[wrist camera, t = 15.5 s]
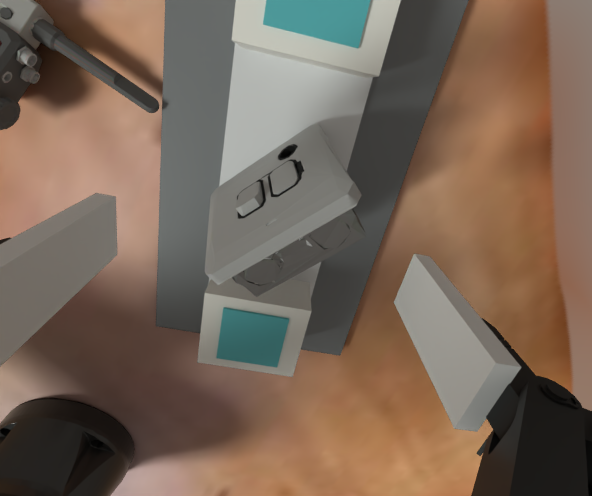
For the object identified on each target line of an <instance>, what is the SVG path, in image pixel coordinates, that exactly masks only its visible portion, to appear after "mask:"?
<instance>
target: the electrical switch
mask: <svg viewBox="0 0 592 496" xmlns="http://www.w3.org/2000/svg"><path fill="white" fill-rule="evenodd" d="M360 197H361V193H360V191H359V189H358V188H357V186H356V184H355V182H354V181H352V180H351V178H350V176H349V174H348V173H347V171H346V169H345V168H344V166H343V164H342V162H341V161H340V159H339V157H338V156H337V154H336V152H335V150H334V149H333V147H332V145H331V144H330V142H329V139H328V137H327V135H326V133H325V132H324V131H323V129H322V128H321V126H320V125H319V124H315V125H310V126H309V127H307V128H306V129H304V130H303V131H301V132H300V133H298V134H297V135H295V136H294V137H292V138H291V139H289V140H288V141H286V142H285V143H283V144H282V145H280V146H279V147H277V148H276V149H274V150H273V151H271V152H270V153H268V154H267V155H265V156H264V157H262V158H261V159H259V160H258V161H256V162H255V163H253V164H252V165H250V166H249V167H247V168H246V169H244V170H243V171H241V172H240V173H238V174H237V175H235V176H234V177H232V178H231V179H230V180H228V181H227V182H225V183H224V184H222V185H221V186H219V187H218V188H216V189H215V190H214V192H213V193H212V194H211V198H210V211H209V223H208V235H207V247H206V260H205V273H206V275H207V276H208V277H209V278H211V279H212V280H213V281H214V282H215V283H216V284H218V285H219V284H221V283H223V282H225V281H226V280H228V279H230V278H232V279H233V280H234V281H235V282H236V283H238V284H240V285H242V286H244V287H245V288H246V289H248V290H249V291H250V292H251V293H252V294H253V295H254V296H256V297H258V296H259V295H261V294H263V293H265V292H267V291H269V290H270V289H272V288H274V287H276V286H278V285H279V284H281V283H283V282H285V281H287V280H289V279H290V278H292V277H294V276H296V275H298V274H299V273H301V272H303V271H305V270H307V269H309V268H310V267H312V266H314V265H316V264H318V263H319V262H321V261H323V260H325V259H327V258H329V257H330V256H332V255H334V254H336V253H338V252H339V251H341V250H343V249H345V248H347V247H349V246H350V245H352V244H354V243H356V242H358V241H359V240H361V239H363V238H365V237H366V236H365V234H364V232H365V231H364V232H363V230H364V228H363V226H362V224H361V222H360V220H359V218H358V216H357V214H356V212H355V211H354V209H353V207H355V206H356V205H357V203H358V201H359V199H360ZM360 226H361V227H360ZM361 228H362V229H363V230H362V229H361ZM301 237H302V239H301ZM299 239H301V240H300V241H299ZM306 240H307V241H308V242H309V243H310V244H311V245H312V246H309V245H307V243H306ZM345 240H346V242H344V241H345ZM277 252H278V253H277ZM276 253H277V254H276ZM265 258H271V259H265ZM281 259H283V261H284V262H283V261H282V260H281ZM280 267H281V268H280ZM274 281H275V282H274ZM255 283H256V284H255Z"/></svg>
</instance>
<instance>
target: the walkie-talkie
mask: <svg viewBox="0 0 592 496" xmlns="http://www.w3.org/2000/svg"><path fill="white" fill-rule="evenodd" d="M53 24H54V20H53V19H52V18H51V17H50V16H49V14H48V13H47V12H46V11H45V10H44V9H43V7H42V6H41V5H39V4H38V3H37V2H35V1H34V0H0V130H3V129H7V128H9V127H11V126H13V124H14V123H15V122H16V121H17V120H18V118H19V115H20V106H19V104H18V101H19V100H20V98H21V97H22V95H23V94H24V92H25V91H26V89H27V88H28V86H29V85H30V83H32V84H35V83H37V82H38V80H39V78H40V74H39V73H38V72H39V69H40V66H41V63H42V59H41V56H40V54H39V52H38V51H37V50H36V49H37V48H38V46H39V45H40V43H42V44H43V45H45V46H46V47H48V48H49V49H51V50H52V51H59V52H60V53H62V54H63V55H65V56H66V57H68V58H69V59H71V60H72V61H73V62H75V63H76V64H78V65H79V66H81V67H82V68H84V69H85V70H87V71H88V72H90V73H91V74H93V75H94V76H96V77H97V78H99V79H100V80H101V81H103V82H104V83H106V84H107V85H109V86H110V87H112V88H113V89H115V90H116V91H118V92H119V93H121V94H122V95H124V96H125V97H127V98H128V99H129V100H131V101H132V102H134V103H135V104H137V105H138V106H140V107H141V108H143V109H144V110H146V111H147V112H149V113H154V112H156V111H158V109H159V103H158V101H157V100H156V99H155V98H154V97H152V96H151V95H149V94H148V93H146V92H145V91H143V90H142V89H141V88H139V87H138V86H136V85H135V84H133V83H132V82H130V81H129V80H128V79H126V78H125V77H123V76H122V75H120V74H119V73H117V72H116V71H115V70H113V69H112V68H110V67H109V66H107V65H106V64H104V63H103V62H101V61H100V60H99V59H97V58H96V57H94V56H93V55H91V54H90V53H88V52H87V51H86V50H84V49H83V48H81V47H80V46H78V45H77V44H75V43H74V42H72V41H71V40H70V39H68V38H67V37H65V34H64V33H63V32H62V31H61V30H59V29H58V28H56V27H55V26H53Z"/></svg>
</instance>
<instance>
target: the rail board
mask: <svg viewBox="0 0 592 496" xmlns="http://www.w3.org/2000/svg"><path fill="white" fill-rule="evenodd" d="M468 1H469V0H165V30H164V65H163V99H162V133H161V168H160V202H159V236H158V270H157V305H156V326H159V327H165V328H171V329H177V330H184V331H190V332H196V333H200V341H199V351H198V360H197V363H204V364H210V365H217V366H223V367H230V368H237V369H243V370H250V371H256V372H263V373H270V374H276V375H283V376H289V377H293V374H294V370H295V367H296V363H297V360H298V356H299V353H300V349H302V350H308V351H315V352H321V353H327V354H333V355H341V352H342V349H343V346H344V343H345V341H346V338H347V335H348V332H349V330H350V327H351V324H352V321H353V319H354V316H355V313H356V310H357V307H358V305H359V302H360V299H361V296H362V294H363V291H364V288H365V285H366V283H367V280H368V277H369V274H370V272H371V269H372V266H373V263H374V260H375V258H376V255H377V252H378V249H379V247H380V244H381V241H382V238H383V236H384V233H385V230H386V227H387V225H388V222H389V219H390V216H391V213H392V211H393V208H394V205H395V202H396V200H397V197H398V194H399V191H400V189H401V186H402V183H403V180H404V178H405V175H406V172H407V169H408V166H409V164H410V161H411V158H412V155H413V153H414V150H415V147H416V144H417V142H418V139H419V136H420V133H421V131H422V128H423V125H424V122H425V119H426V117H427V114H428V111H429V108H430V106H431V103H432V100H433V97H434V95H435V92H436V89H437V86H438V84H439V81H440V78H441V75H442V72H443V70H444V67H445V64H446V61H447V59H448V56H449V53H450V50H451V48H452V45H453V42H454V39H455V37H456V34H457V31H458V28H459V25H460V23H461V20H462V17H463V14H464V12H465V9H466V6H467V3H468ZM315 124H319V125H320V126H321V128H322V129H323V131H324V132H325V133H326V135H327V137H328V139H329V142H330V144H331V145H332V147H333V149H334V150H335V152H336V154H337V156H338V157H339V159H340V161H341V162H342V164H343V166H344V168H345V169H346V171H347V173H348V174H349V176H350V178H351V180H352V181H354V182H355V184H356V186H357V188H358V189H359V191H360V193H361V197H360V199H359V201H358V203H357V205H356V206H355V207H353V209H354V211H355V212H356V214H357V216H358V218H359V220H360V222H361V224H362V226H363V228H364V230H363V229H362V228H361V229H362V230H363V232H364V231H365V232H364V234H365V236H366V237H365V238H363V239H361V240H359V241H358V242H356V243H354V244H352V245H350V246H349V247H347V248H345V249H343V250H341V251H339V252H338V253H336V254H334V255H332V256H330V257H329V258H327V259H325V260H323V261H321V262H319V263H318V264H316V265H314V266H312V267H310V268H309V269H307V270H305V271H303V272H301V273H299V274H298V275H296V276H294V277H292V278H290V279H289V280H287V281H285V282H283V283H281V284H279V285H278V286H276V287H274V288H272V289H270V290H269V291H267V292H265V293H263V294H261V295H259V296H258V297H256V296H254V295H253V294H252V293H251V292H250V291H249V290H248V289H246V288H245V287H244V286H242V285H240V284H238V283H236V282H235V281H234V280H233V279H232V278H230V279H228V280H226V281H225V282H223V283H221V284H219V285H218V284H216V283H215V282H214V281H213V280H212V279H211V278H209V277H208V276H207V275H206V273H205V260H206V247H207V235H208V223H209V211H210V198H211V194H212V193H213V192H214V190H215V189H216V188H218V187H219V186H221V185H222V184H224V183H225V182H227V181H228V180H230V179H231V178H232V177H234V176H235V175H237V174H238V173H240V172H241V171H243V170H244V169H246V168H247V167H249V166H250V165H252V164H253V163H255V162H256V161H258V160H259V159H261V158H262V157H264V156H265V155H267V154H268V153H270V152H271V151H273V150H274V149H276V148H277V147H279V146H280V145H282V144H283V143H285V142H286V141H288V140H289V139H291V138H292V137H294V136H295V135H297V134H298V133H300V132H301V131H303V130H304V129H306V128H307V127H309V126H310V125H315ZM360 227H361V226H360ZM301 239H302V237H301ZM301 239H299V241H300V240H301ZM344 242H346V240H345V241H344ZM306 243H307V245H309V246H312V245H311V244H310V243H309V242H308V241H307V240H306ZM277 253H278V252H277ZM277 253H276V254H277ZM265 259H271V258H265ZM281 260H282V261H283V259H281ZM283 262H284V261H283ZM280 268H281V267H280ZM274 282H275V281H274ZM255 284H256V283H255Z"/></svg>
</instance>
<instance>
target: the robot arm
mask: <svg viewBox="0 0 592 496" xmlns="http://www.w3.org/2000/svg"><path fill="white" fill-rule="evenodd" d="M116 255H117V226H116V197H115V196H110V195H105V194H99V193H95V194H94V195H92V196H90V197H88V198H86V199H84V200H82V201H80V202H79V203H77V204H75V205H73V206H71V207H69V208H67V209H65V210H64V211H62V212H60V213H58V214H56V215H54V216H52V217H51V218H49V219H47V220H45V221H43V222H41V223H39V224H37V225H36V226H34V227H32V228H30V229H28V230H26V231H24V232H23V233H21V234H19V235H17V236H15V237H13V238H6V239H2V240H0V366H1V365H2V364H3V363H4V362H5V361H6V360H7V359H9V358H10V357H11V356H12V355H13V354H14V353H15V352H16V351H17V350H18V349H19V348H20V347H21V346H22V345H23V344H24V343H25V342H26V341H27V340H28V339H29V338H31V337H32V336H33V335H34V334H35V333H36V332H37V331H38V330H39V329H40V328H41V327H42V326H43V325H44V324H45V323H46V322H47V321H48V320H49V319H50V318H51V317H53V316H54V315H55V314H56V313H57V312H58V311H59V310H60V309H61V308H62V307H63V306H64V305H65V304H66V303H67V302H68V301H69V300H70V299H71V298H72V297H73V296H75V295H76V294H77V293H78V292H79V291H80V290H81V289H82V288H83V287H84V286H85V285H86V284H87V283H88V282H89V281H90V280H91V279H92V278H93V277H94V276H95V275H97V274H98V273H99V272H100V271H101V270H102V269H103V268H104V267H105V266H106V265H107V264H108V263H109V262H110V261H111V260H112V259H113V258H114V257H115V256H116ZM394 304H395V306H396V308H397V310H398V312H399V314H400V316H401V319H402V321H403V323H404V325H405V327H406V329H407V331H408V333H409V335H410V337H411V339H412V341H413V343H414V346H415V348H416V350H417V352H418V354H419V356H420V358H421V360H422V362H423V364H424V366H425V368H426V371H427V373H428V375H429V377H430V379H431V381H432V383H433V385H434V387H435V389H436V391H437V393H438V396H439V398H440V400H441V402H442V404H443V406H444V408H445V410H446V412H447V414H448V416H449V418H450V421H451V423H452V425H453V427H454V429H461V430H469V431H476V432H477V431H478V430H479V428H480V427H481V425H482V424H483V422H484V421H485V420H486V418H487V420H488V421H489V423H490V425H491V426H492V428H493V431H492V432H491V434H490V435H489V437H488V438H487V439H486V441H485V442H484V443H483V445H482V446H481V448H480V449H479V450H478V452H477V453H476V454H478V455H479V456H481V455H482V453H483V456H482V459H481V463H480V467H479V470H478V474H477V477H476V481H475V484H474V488H473V492H472V495H471V496H592V411H589V410H587V409H584V408H582V406H581V404H580V402H579V401H578V400H577V399H576V397H575V396H574V395H573V394H571V393H570V392H569V391H568V390H567V389H565V388H564V387H562V386H561V385H559V384H558V383H556V382H554V381H552V380H549V379H547V378H544V377H540V376H536V375H535V374H534V373H533V372H532V371H531V369H530V368H529V367H528V366H527V365H526V363H525V362H524V361H523V360H522V359H521V358H520V356H519V355H518V354H517V353H516V352H515V351H514V349H511V346H510V345H509V344H508V342H507V341H506V340H504V338H503V337H502V335H501V334H500V333H499V332H498V331H497V329H496V328H495V327H493V326H492V325H491V324H489V323H488V322H487V321H486V320H484V319H483V318H480V316H479V315H478V314H477V313H476V312H475V310H474V309H473V308H472V307H471V306H470V304H469V303H468V302H467V301H466V300H465V298H464V297H463V296H462V295H461V293H460V292H459V291H458V290H457V289H456V287H455V286H454V285H453V284H452V283H451V281H450V280H449V279H448V278H447V277H446V275H445V274H444V273H443V272H442V271H441V269H440V268H439V267H438V266H437V264H436V263H435V262H434V261H433V260H432V258H431V257H430V256H425V255H420V254H414V255H413V257H412V260H411V262H410V265H409V267H408V269H407V272H406V274H405V277H404V279H403V282H402V284H401V286H400V289H399V291H398V294H397V296H396V298H395V301H394ZM133 456H134V444H133V441H132V439H131V437H130V435H129V434H128V432H127V431H126V430H125V429H124V428H123V426H121V425H120V424H119V423H118V422H117V421H116V420H114V419H113V418H111V417H110V416H108V415H107V414H105V413H103V412H101V411H99V410H97V409H95V408H92V407H90V406H87V405H84V404H81V403H77V402H72V401H67V400H58V399H42V400H35V401H30V402H27V403H24V404H21V405H19V406H17V407H16V408H14V409H13V410H12V411H11V412H10V413H9V414H8V415H7V416H6V417H5V418H4V420H3V421H2V422H1V423H0V496H110V495H111V494H112V493H113V491H114V490H115V489H116V488H117V486H118V485H119V484H120V483H121V481H122V480H123V478H124V477H125V475H126V473H127V470H128V468H129V466H130V463H131V461H132V459H133Z"/></svg>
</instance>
